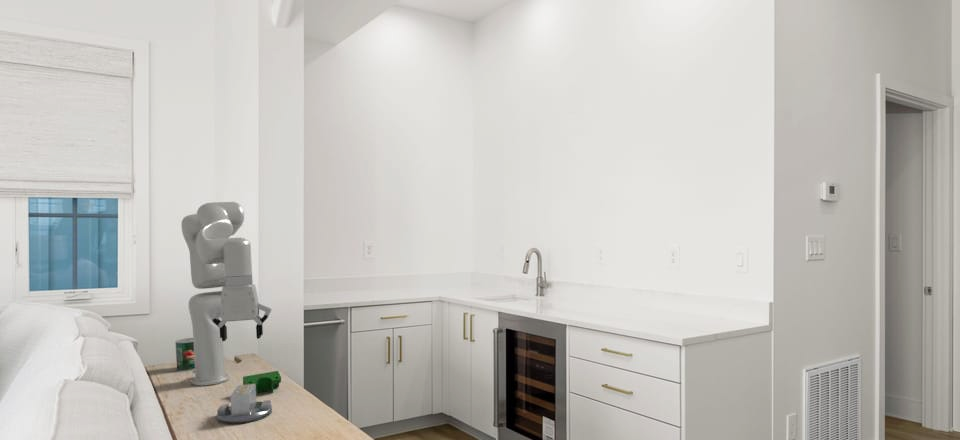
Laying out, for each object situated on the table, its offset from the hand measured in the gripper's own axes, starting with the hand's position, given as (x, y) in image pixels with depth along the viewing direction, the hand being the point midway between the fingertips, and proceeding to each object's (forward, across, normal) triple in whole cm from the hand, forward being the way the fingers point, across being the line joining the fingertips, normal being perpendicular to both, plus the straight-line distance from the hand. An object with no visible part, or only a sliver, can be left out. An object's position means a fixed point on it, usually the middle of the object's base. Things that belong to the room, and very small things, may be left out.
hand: (241, 338), depth 181 cm
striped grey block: (+21, 0, -1) cm, 21 cm away
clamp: (+23, +1, +21) cm, 31 cm away
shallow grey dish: (+22, 0, -1) cm, 22 cm away
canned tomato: (+23, -34, +63) cm, 75 cm away
